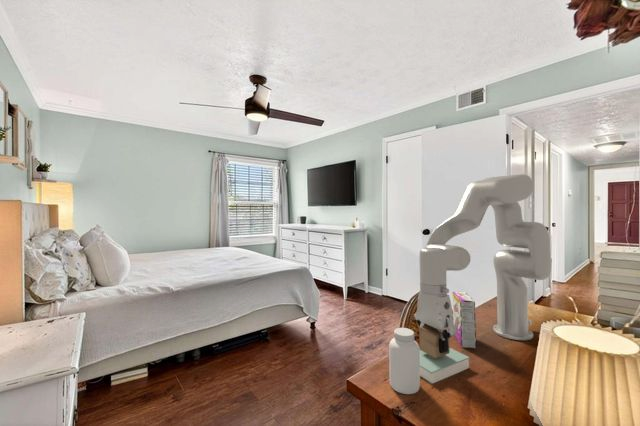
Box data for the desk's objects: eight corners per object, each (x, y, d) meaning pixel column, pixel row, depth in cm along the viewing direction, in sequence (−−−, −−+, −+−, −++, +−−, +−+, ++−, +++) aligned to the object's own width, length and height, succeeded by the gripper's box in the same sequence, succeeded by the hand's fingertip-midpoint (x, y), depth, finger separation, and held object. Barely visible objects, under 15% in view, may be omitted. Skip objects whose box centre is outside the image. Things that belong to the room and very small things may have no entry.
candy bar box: (452, 333, 109) (451, 291, 108) (466, 334, 108) (466, 291, 107) (460, 348, 98) (460, 300, 97) (476, 349, 97) (476, 301, 96)
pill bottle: (416, 399, 72) (415, 340, 72) (385, 389, 76) (384, 333, 76) (423, 382, 79) (422, 328, 79) (394, 374, 83) (393, 323, 83)
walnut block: (433, 344, 91) (432, 322, 91) (449, 353, 86) (449, 329, 86) (419, 349, 88) (419, 327, 88) (435, 358, 83) (435, 334, 83)
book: (400, 364, 89) (400, 353, 89) (436, 351, 96) (436, 341, 96) (431, 384, 78) (431, 372, 78) (469, 368, 86) (469, 357, 86)
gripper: (467, 293, 81) (468, 356, 81) (420, 280, 96) (421, 333, 97) (449, 298, 78) (450, 363, 78) (403, 284, 93) (404, 338, 93)
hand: (434, 346), depth 87 cm, fingers closed on walnut block, 5 cm apart
